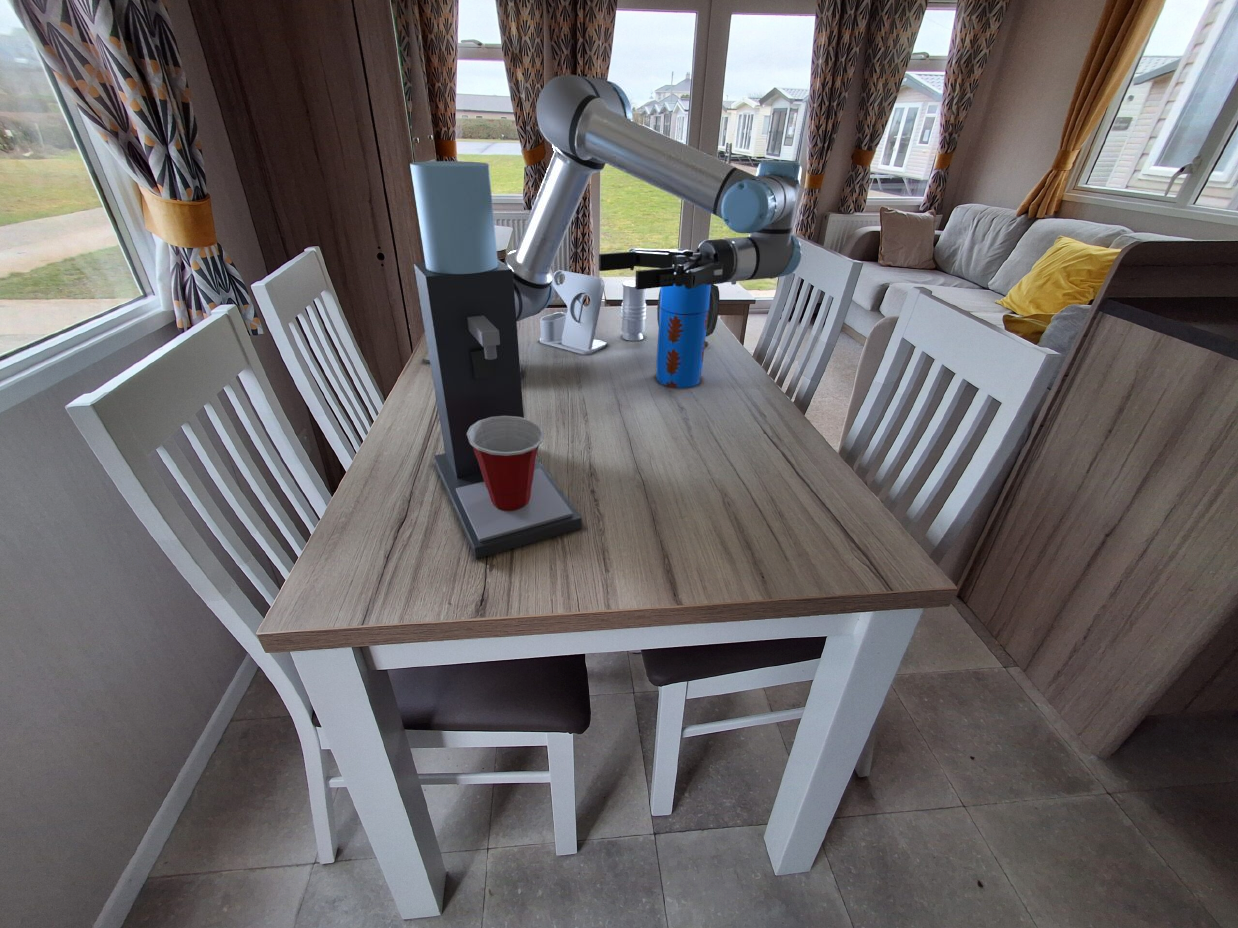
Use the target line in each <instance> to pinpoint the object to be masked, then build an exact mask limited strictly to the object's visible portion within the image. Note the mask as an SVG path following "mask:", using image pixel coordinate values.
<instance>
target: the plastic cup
mask: <svg viewBox="0 0 1238 928" xmlns="http://www.w3.org/2000/svg"><path fill="white" fill-rule="evenodd" d="M467 437H468V440H469V443H470V444H471V445H472V446H473V449H474V452H475V455H476V457H477V459H478V463H479V466H480V469H481V472H482V476H483V479H484V482H485V485H486V488H487V489H488V493H489V496H490V499H491V502H492V503H493V506H495V507H496V508H497V509H500V510H504V511H513V510H517V509H520V508H522V507H524V506H526V505H527V504H528V503H529V499H530V496H531V488H532V482H533V477H534V469H535V462H536V457H537V455H538V451H539V448H540V446H541V445H542V444H543V441H544V437H545V431H544V430H543V428H542V426H541V425H539V424H538V423H536V422H535V421H533V420H532V419H528V418H525V417H524V418H521V417H515V416H496V417H489V418H486V419H483V420H479V421H478V422H476V423H475V424H473V425H472V426H470V428H469V430H468V432H467Z"/></svg>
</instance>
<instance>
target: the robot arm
mask: <svg viewBox="0 0 1238 928" xmlns="http://www.w3.org/2000/svg"><path fill="white" fill-rule="evenodd" d="M632 111H633V110H632V108H631V102H630V100H629V98H628V95H627V94H626V92H625V91H624V90H623V88H622V87H620V86H619V85H618V84H617V83H615V82H613V81H610V80H608V79H606V78H605V77H589V76H580V75H575V74H567V73H566V74H561V75H558V76H555V77H553V78H552V79H550V80H549V81H548V82H547V83H546V84H544V86H543V88H541V91H540V93H539V96H538V97H537V102H536V120H537V125H538V128H539V130H540V132H541V134H542V135H543V137H544V138H545V140H546V141H547V142H548V143H549V144H550V145H552V148H553V151H554V152H553V154H552V157H551V160H550V162H549V165H548V168H547V170H546V173H545V175H544V177H543V180H542V183H541V185H540V188H539V190H538V193H537V195H536V198H535V200H534V203H533V206H532V208H531V211H530V213H529V216H528V219H527V221H526V224H525V226H524V229H523V232H522V234H521V237H520V239H519V242H518V245H517V246H516V249H515V250H512V251H510V252H509V253H507V255H505V258H504V262H503V263H504V264H505V265H507V266H508V267H510V268H511V269H512V270H513V282H514V295H515V308H516V321H517V322H520V321H523V320H525V319H527V318H531V317H534V316H536V315H537V314H539V313H541V312H542V311H543V310H545V309H546V308H547V307H549V305H550V303H551V301H552V299H553V297H554V287H553V285H552V283H553V282H552V280H553V275H554V273H553V270H552V266H553V264H554V261H555V259H556V257H557V255H558V253H559V250H560V248H561V245H562V243H563V241H564V239H565V237H566V235H567V232H568V229H569V228H570V225H571V223H572V222H573V218H574V216H575V214H576V212H577V210H578V208H579V205H580V203H581V202H582V198H583V196H584V194H585V192H586V190H587V187H588V185H589V183H590V181H591V179H592V176H593V174H595V173H597V172H601V171H603V170H604V169H605V166H606V165H608V166H610V167H613V168H615V169H617V170H619V171H621V172H623V173H625V174H627V175H629V176H631V177H633V178H636V179H637V180H640V181H642V182H645V183H646V184H649V185H651V186H652V187H655V188H657V189H659V190H661V191H664V192H666V193H668V194H670V195H672V196H674V197H676V198H678V199H680V200H682V201H684V202H687V203H689V204H691V205H693V206H695V207H696V208H699V209H702V210H704V211H706V212H708V213H710V214H712V215H713V216H716V217H718V218H719V219H722V220H723V222H724V224H725V225H726V226H727V227H728V228H729V229H730V230H731V231H733V232H735V233H737V234H748V236H738V237H725V238H713V239H705V240H703V241H702V242H700V243H699V245H698V247H697V249H696V250H693V249H685V250H684V249H683V248H673V249H670V248H669V249H668V248H667V249H663V248H662V249H661V248H634V247H632V248H631V247H630V248H629V249H628V251H621V252H619V251H618V252H608V253H607V252H605V253H598V272H606V271H618V270H630V271H634V270H635V267H637V268H638V267H640V268H650V269H640V270H635V289H637V290H639V289H646V290H649V289H656V288H661V287H667V286H673V284H675V286H678V287H680V286H683V285H685V288H687V289H691V288H694V287H697V286H699V285H702V284H706V285H712V284H713V285H720V284H724V283H730V284H731V285H733V286H734V285H737V283H738V282H744V281H753V280H765V279H766V280H768V279H769V280H772V279H776V278H782V277H785V276H789V275H791V274H792V273H793V272H795V271H796V270H797V268H798V266H799V265H800V263H801V259H802V253H803V252H802V250H801V245H802V244H801V242H800V240H799V238H797V236H796V235H793V225H794V220H795V214H796V209H797V202H798V197H799V192H800V188H801V185H802V184H801V183H802V182H801V178H802V170H803V169H802V165H801V164H800V163H799V162H797V161H787V160H763V161H760V163H759V164H758V166H757V170H756V175H755V174H753V173H750V172H748V171H746V170H743V169H741V168H738V167H737V166H734V165H732V164H730V163H728V162H726V161H723V160H721V159H718V158H717V157H714V156H713V155H710V154H708V153H706V152H703V151H701V150H699V149H697V148H695V147H693V146H690V145H688V144H686V143H683V142H681V141H679V140H676V139H674V138H672V137H670V136H668V135H665V134H663V133H661V132H659V131H657V130H655V129H653V128H650V127H649V126H646V125H644V124H642V123H639V122H637V121H635V120H633V112H632ZM694 251H696V252H695V253H694ZM673 266H674V268H673ZM674 272H676V273H674ZM521 362H522V361H521V360H520V373H521V374H522V369H521V366H522V364H521ZM421 363H424V364H428V365H430V359H426V358H422V359H421Z"/></svg>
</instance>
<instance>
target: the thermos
mask: <svg viewBox="0 0 1238 928" xmlns="http://www.w3.org/2000/svg"><path fill="white" fill-rule="evenodd" d="M673 268H674V265H673ZM674 273H676V272H674ZM660 288H661V296H660V313H659V326H658V331H657V332H658V333H657V347H656V348H657V350H656V380H657V382H658V383H660V384H661V385H664V386H667V387H672V388H679V389H680V388H682V389H685V388H692V387H695V386H697V385H698V384H700V382H701V376H702V372H703V364H704V355H705V348H706V347H705V341H706V338H707V337H706V328H707V318H708V308H709V299H710V290H711V285H706V284H702V285H699V286H697V287H694V288H691V289H687V288H685V285H683V286H680V287H678V286H675V284H673V286H667V287H660Z"/></svg>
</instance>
